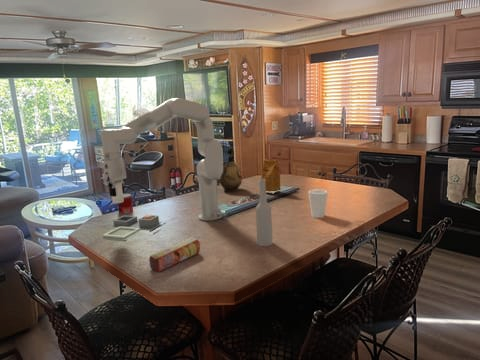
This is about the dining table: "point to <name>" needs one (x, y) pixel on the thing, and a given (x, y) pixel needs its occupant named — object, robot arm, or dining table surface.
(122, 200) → the cylinder
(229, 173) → the ceramic jug
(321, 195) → the foam cup
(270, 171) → the coffee package
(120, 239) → the tray
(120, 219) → the housing
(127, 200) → the canned food
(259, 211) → the bottle
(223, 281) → the dining table surface
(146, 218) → the tan rounded piece
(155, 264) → the snack package
